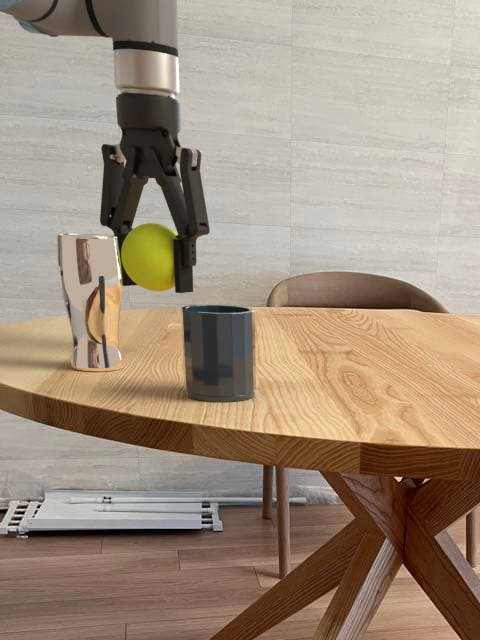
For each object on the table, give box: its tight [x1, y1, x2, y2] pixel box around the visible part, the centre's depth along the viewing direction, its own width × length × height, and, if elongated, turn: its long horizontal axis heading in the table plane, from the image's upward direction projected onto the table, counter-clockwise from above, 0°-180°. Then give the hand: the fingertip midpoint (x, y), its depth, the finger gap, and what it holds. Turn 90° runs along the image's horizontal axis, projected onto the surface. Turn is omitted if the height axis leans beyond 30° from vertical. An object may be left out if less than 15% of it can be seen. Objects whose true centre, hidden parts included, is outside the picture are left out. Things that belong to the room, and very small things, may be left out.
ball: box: [121, 222, 178, 292], centre depth 107 cm, size 8×8×8 cm
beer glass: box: [56, 232, 126, 372], centre depth 97 cm, size 7×7×15 cm
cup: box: [180, 304, 257, 403], centre depth 88 cm, size 7×7×9 cm
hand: (156, 288), depth 109 cm, fingers closed on ball, 8 cm apart
